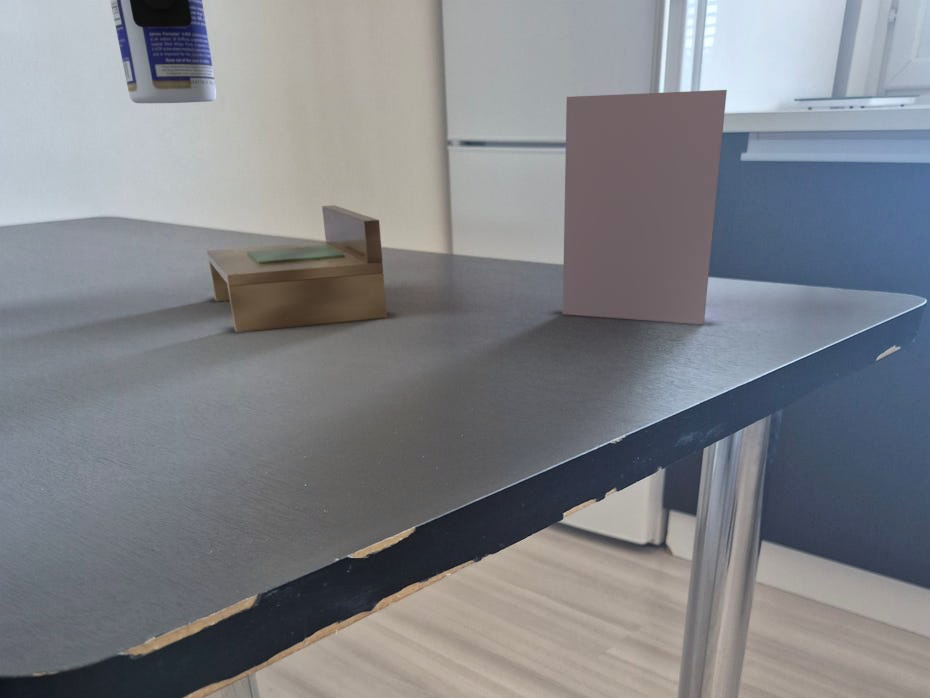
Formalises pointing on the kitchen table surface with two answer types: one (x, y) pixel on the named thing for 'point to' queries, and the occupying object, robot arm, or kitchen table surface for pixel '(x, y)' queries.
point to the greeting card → (641, 204)
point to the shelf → (305, 277)
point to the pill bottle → (165, 58)
